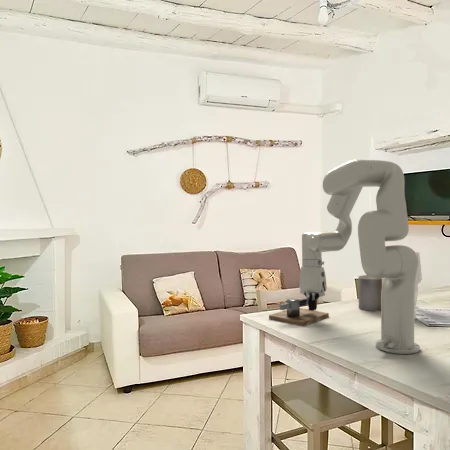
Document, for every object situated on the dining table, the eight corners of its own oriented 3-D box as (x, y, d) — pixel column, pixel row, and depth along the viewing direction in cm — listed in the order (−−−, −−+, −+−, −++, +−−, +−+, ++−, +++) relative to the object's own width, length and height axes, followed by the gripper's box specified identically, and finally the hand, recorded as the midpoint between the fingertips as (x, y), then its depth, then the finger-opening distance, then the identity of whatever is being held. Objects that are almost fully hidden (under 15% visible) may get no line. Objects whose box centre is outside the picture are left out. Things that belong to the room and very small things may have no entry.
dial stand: (303, 325, 164) (303, 321, 164) (269, 318, 175) (268, 314, 175) (329, 316, 177) (329, 312, 177) (295, 310, 188) (295, 307, 188)
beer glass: (419, 320, 170) (419, 281, 170) (400, 319, 172) (400, 280, 171) (415, 315, 177) (415, 278, 176) (397, 315, 178) (397, 277, 178)
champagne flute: (401, 307, 191) (401, 252, 190) (413, 306, 193) (413, 251, 192) (412, 311, 184) (412, 253, 184) (425, 309, 187) (425, 252, 186)
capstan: (286, 319, 166) (286, 303, 166) (276, 317, 170) (276, 301, 170) (315, 311, 178) (315, 296, 178) (305, 309, 182) (305, 295, 182)
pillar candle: (374, 305, 196) (373, 271, 196) (387, 310, 187) (386, 274, 186) (354, 307, 194) (353, 273, 193) (366, 312, 184) (365, 276, 184)
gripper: (333, 263, 172) (334, 310, 173) (301, 261, 183) (302, 305, 183) (323, 265, 167) (324, 314, 167) (290, 263, 177) (291, 308, 178)
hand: (312, 309), depth 175 cm, fingers closed
